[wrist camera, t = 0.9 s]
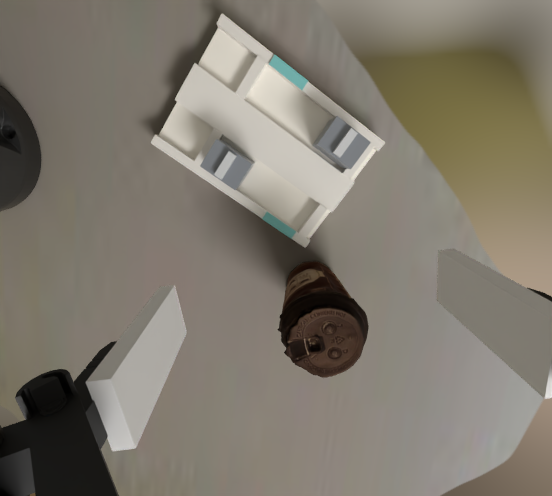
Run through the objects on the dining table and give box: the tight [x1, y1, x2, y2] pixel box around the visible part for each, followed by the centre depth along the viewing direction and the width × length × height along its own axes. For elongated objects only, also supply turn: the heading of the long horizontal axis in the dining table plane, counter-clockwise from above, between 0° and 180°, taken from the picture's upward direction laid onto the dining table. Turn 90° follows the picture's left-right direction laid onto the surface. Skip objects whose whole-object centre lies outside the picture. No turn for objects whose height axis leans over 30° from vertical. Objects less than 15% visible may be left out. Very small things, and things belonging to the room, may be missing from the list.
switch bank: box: [151, 14, 385, 248], centre depth 34 cm, size 20×14×3 cm
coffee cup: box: [278, 261, 368, 378], centre depth 34 cm, size 9×8×13 cm
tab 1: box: [200, 139, 255, 190], centre depth 32 cm, size 4×3×5 cm
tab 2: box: [312, 116, 371, 169], centre depth 31 cm, size 4×3×5 cm
